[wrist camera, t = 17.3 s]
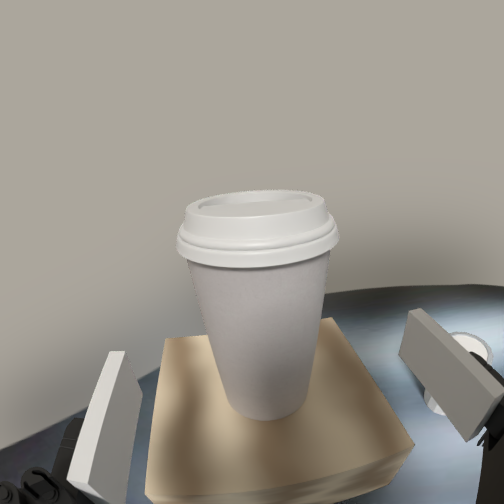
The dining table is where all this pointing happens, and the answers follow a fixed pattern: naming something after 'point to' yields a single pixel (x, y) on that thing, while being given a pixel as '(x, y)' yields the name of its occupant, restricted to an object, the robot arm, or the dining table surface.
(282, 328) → the coffee cup
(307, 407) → the riser block
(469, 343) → the shot glass
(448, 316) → the dining table surface
